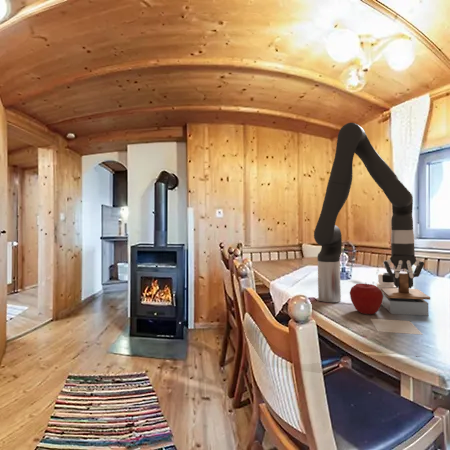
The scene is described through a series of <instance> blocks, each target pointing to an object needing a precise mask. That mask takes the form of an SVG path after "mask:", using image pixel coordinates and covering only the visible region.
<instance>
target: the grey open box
mask: <svg viewBox="0 0 450 450" xmlns="http://www.w3.org/2000/svg"><path fill="white" fill-rule="evenodd" d="M382 307H383V308H384V309H386V310H387V311H388V313H390V314H392V315H393V314H395V315H409V316H411V315H412V316H429V315H430V313H429V302H427V301H426V299H405V298H388V297H387V296H386V295H385V294H384V293H383V303H382Z"/></svg>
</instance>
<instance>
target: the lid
mask: <svg viewBox="0 0 450 450" xmlns="http://www.w3.org/2000/svg"><path fill="white" fill-rule="evenodd" d="M398 278H399V288H381V291H382V292H383V293H384V294H385V295H386V296H387V297H388V298H405V299H423V300H431V297H430V296H429V295H428V294H426V293H424V292H423V291H421V290H420V289H418V288H409V274H407V272H400V273H399V277H398Z"/></svg>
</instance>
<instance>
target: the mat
mask: <svg viewBox="0 0 450 450" xmlns="http://www.w3.org/2000/svg"><path fill="white" fill-rule="evenodd" d="M370 322H372V323H371V324H372V325H373V327H374V328H375V329H376V331H377V332H379V333H380V332H384V333H394V334H395V333H396V334H411V335H424V334H423V333H422V332H421V331H420V330H419V329H418V328H417V326H415V325H414V324H413V323H412V322H411V321H410V320H397V319H381V318H370Z"/></svg>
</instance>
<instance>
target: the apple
mask: <svg viewBox="0 0 450 450" xmlns="http://www.w3.org/2000/svg"><path fill="white" fill-rule="evenodd" d="M349 297H350V301H351V303H352V305H353V307H354V308H355V310H357V312H358V313H360V314H363V315H367V316H368V315H374V314H376V313H378V311H379V309H380V307H381V306H382V304H383V303H382V299H383V294H382V291H381V290H380V289H379V288H378V287H377V285H376V284H375V285H374V284H371V283H370V284H369V283H356V284H355V285H353V286H351V287H350V291H349Z"/></svg>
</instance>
